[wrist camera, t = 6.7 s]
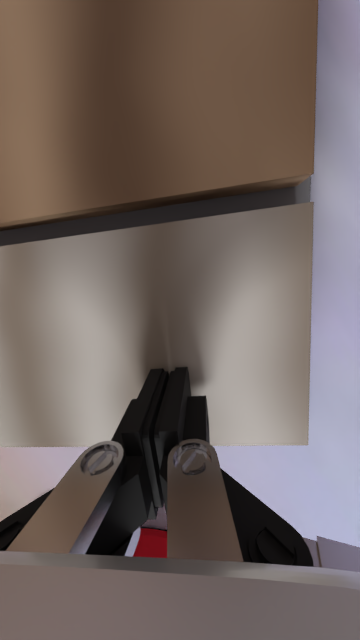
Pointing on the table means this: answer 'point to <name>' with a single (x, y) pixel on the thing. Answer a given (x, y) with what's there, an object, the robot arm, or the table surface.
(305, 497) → the table surface
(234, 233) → the grey oak plank
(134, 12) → the walnut plank
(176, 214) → the brown flat board
